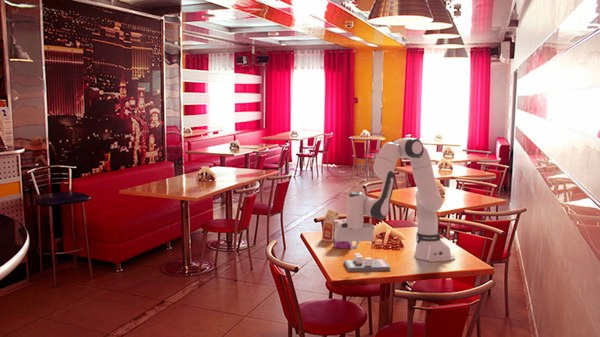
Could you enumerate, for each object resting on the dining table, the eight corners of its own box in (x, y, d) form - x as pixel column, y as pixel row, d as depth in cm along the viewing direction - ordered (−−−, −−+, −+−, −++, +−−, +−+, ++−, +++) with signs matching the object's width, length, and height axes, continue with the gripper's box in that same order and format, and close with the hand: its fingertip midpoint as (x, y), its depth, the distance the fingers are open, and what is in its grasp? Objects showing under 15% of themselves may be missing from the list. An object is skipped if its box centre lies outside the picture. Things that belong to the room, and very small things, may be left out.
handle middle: (361, 262, 284) (361, 255, 283) (362, 263, 281) (362, 256, 281) (356, 262, 283) (356, 255, 283) (356, 263, 281) (357, 256, 281)
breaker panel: (383, 262, 291) (383, 258, 291) (390, 270, 277) (390, 266, 277) (343, 263, 289) (343, 259, 289) (348, 271, 275) (348, 267, 275)
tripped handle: (370, 264, 280) (370, 257, 279) (371, 265, 277) (371, 259, 277) (365, 264, 279) (365, 257, 279) (366, 265, 277) (366, 259, 277)
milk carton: (321, 239, 338) (321, 209, 336) (329, 236, 346) (329, 206, 343) (333, 242, 333) (334, 210, 331) (341, 238, 341) (341, 208, 338)
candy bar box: (333, 248, 319) (333, 221, 317) (333, 245, 324) (334, 219, 322) (352, 248, 318) (352, 222, 316) (352, 246, 323) (352, 220, 321)
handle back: (359, 259, 288) (359, 253, 288) (360, 260, 286) (360, 254, 285) (354, 259, 288) (354, 253, 287) (355, 261, 285) (355, 254, 285)
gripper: (373, 221, 279) (372, 247, 281) (334, 221, 277) (333, 247, 279) (375, 224, 273) (374, 250, 274) (336, 224, 271) (335, 250, 273)
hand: (353, 249), depth 277 cm, fingers closed
